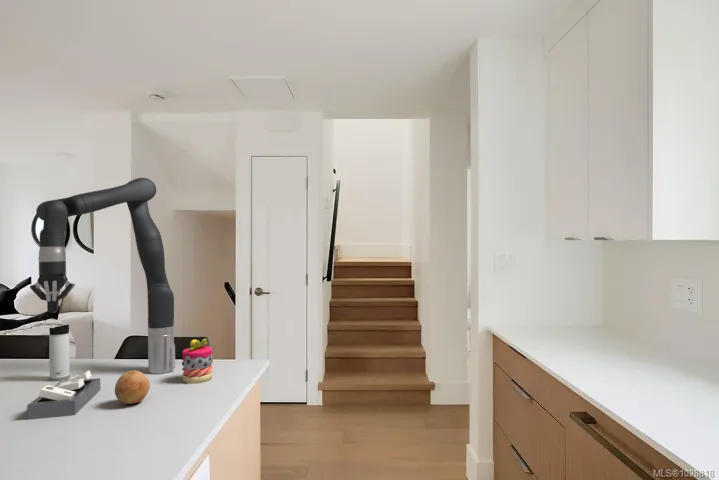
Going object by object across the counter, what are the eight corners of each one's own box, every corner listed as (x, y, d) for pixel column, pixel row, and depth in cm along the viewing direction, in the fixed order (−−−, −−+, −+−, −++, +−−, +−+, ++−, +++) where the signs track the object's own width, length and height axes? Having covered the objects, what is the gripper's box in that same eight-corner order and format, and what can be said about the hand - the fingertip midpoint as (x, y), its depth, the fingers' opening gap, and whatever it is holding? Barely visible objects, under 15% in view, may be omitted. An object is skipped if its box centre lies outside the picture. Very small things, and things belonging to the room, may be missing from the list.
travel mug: (60, 381, 166) (60, 326, 167) (45, 380, 168) (44, 326, 168) (74, 376, 173) (74, 323, 173) (59, 376, 174) (59, 323, 174)
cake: (175, 382, 163) (175, 340, 163) (196, 374, 173) (196, 334, 173) (199, 385, 159) (198, 341, 159) (219, 376, 169) (218, 336, 169)
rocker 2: (91, 375, 153) (89, 369, 153) (87, 379, 149) (84, 373, 148) (66, 385, 151) (63, 380, 151) (61, 389, 147) (58, 383, 146)
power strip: (107, 382, 164) (107, 371, 164) (75, 414, 132) (74, 400, 132) (70, 385, 161) (69, 374, 161) (27, 419, 129) (27, 405, 129)
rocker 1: (73, 398, 138) (75, 391, 138) (67, 403, 134) (70, 395, 134) (44, 391, 136) (47, 384, 136) (38, 396, 132) (41, 388, 132)
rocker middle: (84, 384, 146) (82, 377, 145) (79, 388, 141) (77, 381, 141) (56, 391, 144) (54, 384, 144) (50, 395, 139) (49, 388, 139)
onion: (157, 399, 144) (157, 367, 145) (132, 410, 135) (131, 376, 135) (133, 396, 148) (132, 365, 148) (107, 407, 138) (106, 373, 138)
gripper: (78, 259, 158) (79, 310, 158) (34, 260, 155) (35, 312, 154) (70, 260, 151) (71, 312, 150) (24, 261, 147) (24, 315, 147)
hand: (52, 312), depth 152 cm, fingers closed
